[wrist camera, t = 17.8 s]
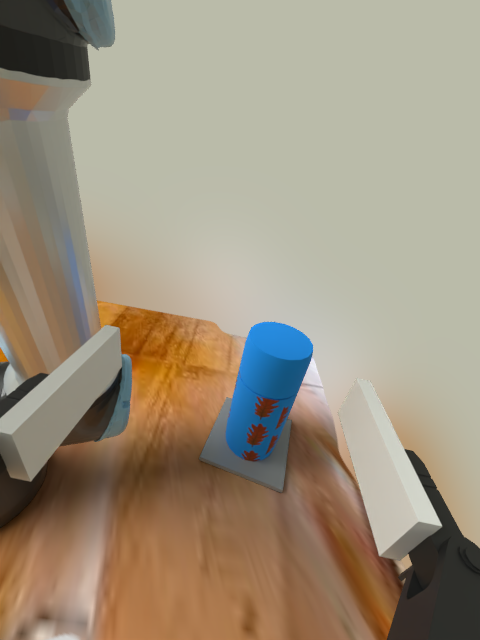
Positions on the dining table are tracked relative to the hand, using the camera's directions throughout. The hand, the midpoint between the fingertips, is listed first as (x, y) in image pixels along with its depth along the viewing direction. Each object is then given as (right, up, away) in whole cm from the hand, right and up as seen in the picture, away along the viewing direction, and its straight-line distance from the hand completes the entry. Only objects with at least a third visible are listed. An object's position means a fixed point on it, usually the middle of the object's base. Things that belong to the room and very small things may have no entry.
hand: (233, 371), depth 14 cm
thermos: (+2, -22, +39) cm, 45 cm away
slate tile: (+2, -22, +40) cm, 45 cm away
